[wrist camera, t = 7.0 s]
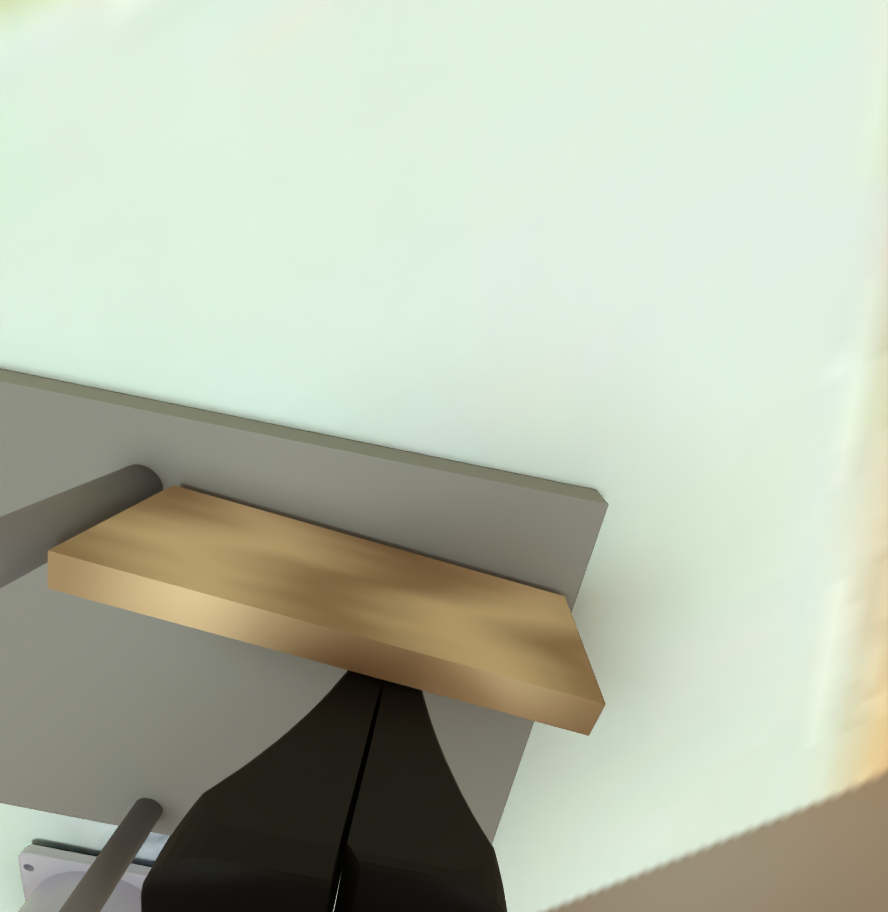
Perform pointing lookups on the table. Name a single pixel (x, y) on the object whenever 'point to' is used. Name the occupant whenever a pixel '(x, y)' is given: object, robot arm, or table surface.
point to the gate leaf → (337, 603)
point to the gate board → (207, 654)
